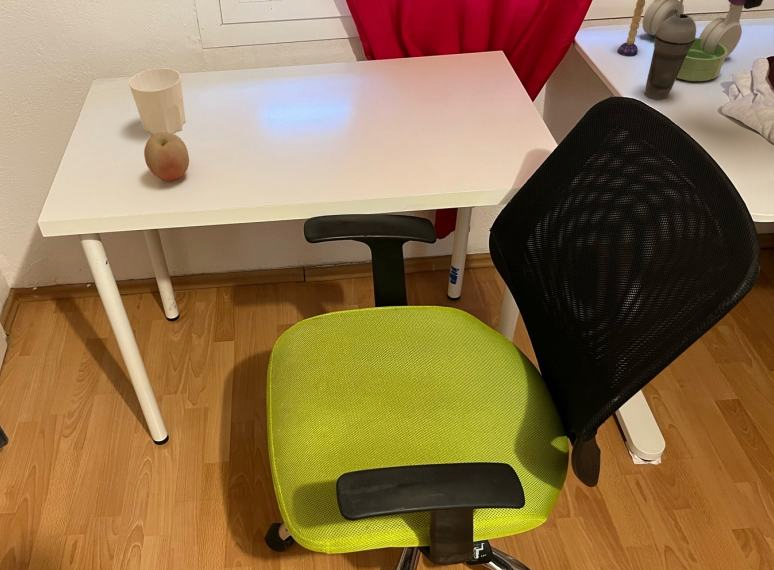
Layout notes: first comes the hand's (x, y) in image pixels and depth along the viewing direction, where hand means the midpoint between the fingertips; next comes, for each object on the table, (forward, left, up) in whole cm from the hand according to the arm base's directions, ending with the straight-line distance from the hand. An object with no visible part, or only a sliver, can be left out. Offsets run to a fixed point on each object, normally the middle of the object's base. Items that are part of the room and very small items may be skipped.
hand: (739, 0), depth 116 cm
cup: (+44, +94, -23) cm, 107 cm away
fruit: (+25, +97, -23) cm, 103 cm away
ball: (0, 0, +2) cm, 2 cm away
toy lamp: (+31, -10, -23) cm, 40 cm away
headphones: (+27, -22, -22) cm, 41 cm away
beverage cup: (+12, -2, -23) cm, 26 cm away
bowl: (+17, -15, -22) cm, 32 cm away
